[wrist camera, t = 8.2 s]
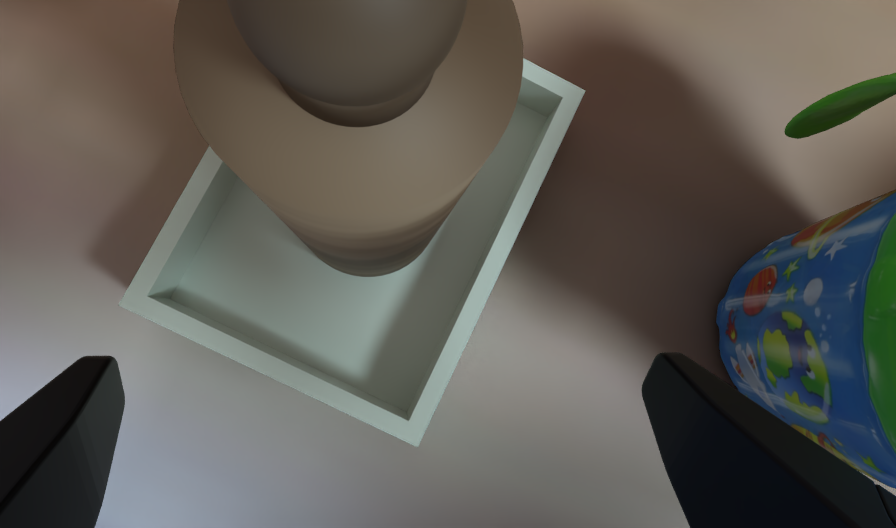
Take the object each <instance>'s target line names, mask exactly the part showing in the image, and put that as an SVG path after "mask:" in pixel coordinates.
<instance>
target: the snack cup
mask: <svg viewBox="0 0 896 528" xmlns="http://www.w3.org/2000/svg"><path fill="white" fill-rule="evenodd" d="M895 94H896V73H893V74H890V75H885V76H881V77H877V78H873V79H870V80H866V81H863V82H860V83H857V84H855V85H852V86H850V87H847V88H845V89H842V90H840V91H837V92H835V93H832V94H830V95H828V96H826V97H824V98H822V99H820V100H819V101H817V102H815V103H813V104H812V105H810V106H809V107H807V108H806V109H804V110H803V111H801V112H800V113H799V114H797V115H796V116H795V117H793V119H792V120H791V121H790V122H789V123H788V124H787V126H786V128H785V134H786V135H787V136H788V137H792V138H797V139H799V138H804V137H808V136H811V135H814V134H817V133H820V132H823V131H826V130H828V129H830V128H833V127H835V126H837V125H840V124H842V123H844V122H846V121H849V120H851V119H852V118H854V117H856V116H857V115H859V114H860V113H861V112H863V111H865V110H867V109H869V108H871V107H873V106H875V105H876V104H878V103H880V102H882V101H884V100H885V99H887V98H889V97H891V96H893V95H895ZM716 323H717V325H718V327H719V332H720V342H719V349H720V354H721V358H722V361H723V363H724V365H725V367H726V369H727V372H728V374H729V376H730V378H731V380H732V382H733V383H734V384H735V386H736V387H737V388H738V390H739V392H741V393H742V394H744V395H745V396H747V397H748V398H750V399H751V400H753V401H754V402H756V403H757V404H759V405H760V406H761V407H763V408H764V409H766V410H767V411H769V412H770V413H772V414H773V415H775V416H776V417H778V418H779V419H781V420H782V421H784V422H785V423H787V424H788V425H790V426H791V427H793V428H794V429H796V430H797V431H799V432H800V433H802V434H803V435H805V436H806V437H808V438H809V439H811V440H812V441H814V442H815V443H817V444H818V445H820V446H821V447H823V448H824V449H826V450H827V451H829V452H830V453H832V454H833V455H835V456H836V457H838V458H839V459H841V460H842V461H844V462H845V463H847V464H848V465H850V466H851V467H853V468H854V469H856V470H858V471H860V472H862V473H864V474H865V475H867V476H869V477H871V478H873V479H875V480H877V481H879V482H881V483H883V484H885V485H887V486H889V487H892V488H896V190H894V191H891V192H889V193H886V194H884V195H881V196H879V197H877V198H874V199H872V200H869V201H867V202H864V203H862V204H860V205H857V206H855V207H852V208H850V209H847V210H845V211H843V212H840V213H838V214H835V215H833V216H831V217H828V218H826V219H823V220H821V221H819V222H816V223H814V224H812V225H810V226H808V227H807V228H805V229H803V230H801V231H798V232H796V233H793V234H790V235H786V236H783V237H782V238H780V239H778V240H776V241H774V242H772V243H770V244H768V245H767V246H766V248H764V249H762V250H761V251H759V252H758V253H756V254H755V255H754V256H753V257H751V258H750V259H749V260H748V261H747V262H746V263H745V264H744V265H743V266H742V267H741V268H740V269H739V270H738V271H737V273H736V274H735V275H734V277H733V279H732V280H731V282H730V285H729V288H728V291H727V293H726V295H725V297H724V298H723V299H722V300H721V301H720V303H719V305H718V311H717V320H716Z"/></svg>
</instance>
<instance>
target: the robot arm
mask: <svg viewBox="0 0 896 528" xmlns="http://www.w3.org/2000/svg"><path fill="white" fill-rule="evenodd" d="M642 397H643V400H644V403H645V407H646V410H647V413H648V416H649V419H650V422H651V425H652V429H653V432H654V435H655V438H656V441H657V444H658V447H659V451H660V454H661V457H662V460H663V463H664V466H665V469H666V471H667V474H668V477H669V479H670V481H671V484H672V486H673V489H674V491H675V493H676V496H677V498H678V500H679V503H680V505H681V507H682V509H683V512H684V514H685V516H686V519H687V521H688V523H689V526H690V528H896V496H895V495H893V494H892V493H890V492H889V491H887V490H886V489H884V488H883V487H881V486H880V485H875V484H874V482H873V481H872V480H871V479H869V478H868V477H866V476H865V475H863V474H862V473H860V472H859V471H857V470H856V469H854V468H853V467H851V466H850V465H848V464H847V463H845V462H844V461H842V460H841V459H839V458H838V457H836V456H835V455H833V454H832V453H830V452H829V451H827V450H826V449H824V448H823V447H821V446H820V445H818V444H817V443H815V442H814V441H812V440H811V439H809V438H808V437H806V436H805V435H803V434H802V433H800V432H799V431H797V430H796V429H794V428H793V427H791V426H790V425H788V424H787V423H785V422H784V421H782V420H781V419H779V418H778V417H776V416H775V415H773V414H772V413H770V412H769V411H767V410H766V409H764V408H763V407H761V406H760V405H759V404H757V403H756V402H754V401H753V400H751V399H750V398H748V397H747V396H745V395H744V394H742V393H741V392H739V391H738V390H736V389H735V388H733V387H732V386H730V385H729V384H727V383H726V382H724V381H723V380H721V379H720V378H718V377H717V376H715V375H714V374H712V373H711V372H709V371H708V370H706V369H705V368H703V367H702V366H700V365H699V364H697V363H696V362H694V361H693V360H691V359H690V358H688V357H687V356H685V355H684V354H682V353H677V352H672V353H659V354H658V355H657V356H656V357H655V359H654V361H653V363H652V365H651V367H650V369H649V371H648V373H647V375H646V377H645V380H644V382H643V385H642ZM124 405H125V395H124V390H123V386H122V381H121V377H120V372H119V368H118V364H117V361H116V359H115V358H114V357H112V356H85V357H82V358H80V359H78V360H77V361H76V362H74V363H73V364H72V365H71V366H69V367H68V368H67V369H66V370H64V371H63V372H62V373H61V374H59V375H58V376H57V377H55V378H54V379H53V380H52V381H50V382H49V383H48V384H47V385H45V386H44V387H43V388H42V389H40V390H39V391H38V392H36V393H35V394H34V395H33V396H31V397H30V398H29V399H28V400H26V401H25V402H24V403H23V404H21V405H20V406H19V407H17V408H16V409H15V410H14V411H12V412H11V413H10V414H9V415H7V416H6V417H5V418H4V419H2V420H1V421H0V528H94V527H95V525H96V522H97V519H98V516H99V512H100V509H101V506H102V502H103V498H104V494H105V490H106V486H107V482H108V477H109V473H110V469H111V464H112V460H113V455H114V451H115V447H116V442H117V438H118V433H119V429H120V425H121V420H122V416H123V411H124Z"/></svg>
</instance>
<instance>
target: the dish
mask: <svg viewBox="0 0 896 528" xmlns="http://www.w3.org/2000/svg"><path fill="white" fill-rule="evenodd" d="M584 93H585V90H583V89H582V88H580V87H578V86H576V85H574V84H572V83H570V82H568V81H566V80H564V79H562V78H560V77H558V76H557V75H555V74H553V73H551V72H549V71H547V70H545V69H543V68H541V67H539V66H537V65H535V64H534V63H532V62H530V61H528V60H526V59H524V58H523V73H522V81H521V88H520V92H519V96H518V100H517V104H516V107H515V110H514V112H513V115H512V117H511V120H510V122H509V124H508V127H507V129H506V130H505V132H504V134H503V135H502V137H501V139H500V141H499V142H498V144H497V146H496V147H495V149H494V150H493V152H492V153H491V154H490V156H489V157H488V159H487V160H486V162H485V163H484V165H483V166H482V167H481V169H480V170H479V172H478V173H477V175H476V176H475V178H474V179H473V180H472V182H471V183H470V185H469V186H468V188H467V189H466V191H465V192H464V194H463V195H462V196H461V198H460V199H459V201H458V202H457V204H456V205H455V207H454V208H453V209H452V211H451V212H450V214H449V215H448V217H447V218H446V220H445V221H444V222H443V224H442V225H441V227H440V228H439V230H438V231H437V233H436V234H435V236H434V237H433V238H432V240H431V241H430V243H429V244H428V246H427V247H426V248H425V250H424V251H423V252H422V253H421V254H420V255H419V256H418V257H417V258H416V259H415V260H414V261H413V262H411V263H410V264H409V265H407V266H406V267H404V268H402V269H400V270H398V271H396V272H393V273H391V274H387V275H383V276H376V277H360V276H353V275H349V274H346V273H343V272H340V271H338V270H336V269H334V268H332V267H330V266H329V265H327V264H326V263H324V262H323V261H322V260H320V259H319V258H318V257H317V256H316V255H315V254H314V253H313V252H312V251H311V250H310V249H309V248H308V247H307V246H306V245H305V244H304V243H303V242H302V241H301V240H300V239H299V238H298V237H297V236H296V235H295V233H294V232H293V231H292V230H291V229H290V228H289V227H288V226H287V225H286V224H285V223H284V222H283V221H282V220H281V219H280V218H279V217H278V216H277V215H276V214H275V213H274V212H273V211H272V210H271V209H270V208H269V207H268V206H267V205H266V204H265V203H264V202H263V201H262V200H261V199H260V198H259V197H258V196H257V195H256V194H255V193H254V192H253V191H252V190H251V189H250V188H249V187H248V186H247V185H246V184H245V183H244V182H243V181H242V180H241V179H240V178H239V177H238V176H237V175H236V174H235V173H234V172H233V171H232V170H231V169H230V168H229V167H228V166H227V165H226V164H225V163H224V162H223V161H222V160H221V159H220V158H219V157H218V156H217V155H216V154H215V152H214V151H213V150H212V148H211V147H210V146H209V147H208V149H207V150H206V152H205V154H204V156H203V157H202V159H201V161H200V163H199V164H198V166H197V168H196V170H195V172H194V173H193V175H192V177H191V179H190V180H189V182H188V184H187V186H186V187H185V189H184V191H183V193H182V194H181V196H180V198H179V200H178V201H177V203H176V205H175V207H174V208H173V210H172V212H171V214H170V215H169V217H168V219H167V221H166V222H165V224H164V226H163V228H162V229H161V231H160V233H159V235H158V236H157V238H156V240H155V242H154V243H153V245H152V247H151V249H150V250H149V252H148V254H147V256H146V257H145V259H144V261H143V263H142V264H141V266H140V268H139V270H138V272H137V273H136V275H135V277H134V279H133V280H132V282H131V284H130V286H129V287H128V289H127V291H126V293H125V294H124V296H123V298H122V300H121V301H120V303H119V306H121V307H123V308H125V309H127V310H129V311H131V312H133V313H135V314H138V315H140V316H142V317H144V318H146V319H148V320H150V321H152V322H154V323H157V324H159V325H161V326H163V327H165V328H167V329H169V330H171V331H173V332H175V333H178V334H180V335H182V336H184V337H186V338H188V339H190V340H192V341H194V342H197V343H199V344H201V345H203V346H205V347H207V348H209V349H211V350H213V351H216V352H218V353H220V354H222V355H224V356H226V357H228V358H230V359H232V360H234V361H237V362H239V363H241V364H243V365H245V366H247V367H249V368H251V369H253V370H256V371H258V372H260V373H262V374H264V375H266V376H268V377H270V378H272V379H274V380H277V381H279V382H281V383H283V384H285V385H287V386H289V387H291V388H293V389H296V390H298V391H300V392H302V393H304V394H306V395H308V396H310V397H312V398H314V399H317V400H319V401H321V402H323V403H325V404H327V405H329V406H331V407H333V408H336V409H338V410H340V411H342V412H344V413H346V414H348V415H350V416H352V417H355V418H357V419H359V420H361V421H363V422H365V423H367V424H369V425H371V426H373V427H376V428H378V429H380V430H382V431H384V432H386V433H388V434H390V435H392V436H395V437H397V438H399V439H401V440H403V441H405V442H407V443H409V444H411V445H413V446H416V447H418V446H419V444H420V442H421V439H422V437H423V435H424V433H425V431H426V429H427V427H428V425H429V422H430V420H431V418H432V416H433V414H434V412H435V410H436V408H437V405H438V403H439V401H440V399H441V397H442V395H443V393H444V391H445V388H446V386H447V384H448V382H449V380H450V378H451V376H452V374H453V371H454V369H455V367H456V365H457V363H458V361H459V359H460V357H461V354H462V352H463V350H464V348H465V346H466V344H467V342H468V340H469V337H470V335H471V333H472V331H473V329H474V327H475V325H476V323H477V320H478V318H479V316H480V314H481V312H482V310H483V308H484V306H485V303H486V301H487V299H488V297H489V295H490V293H491V291H492V289H493V286H494V284H495V282H496V280H497V278H498V276H499V274H500V272H501V269H502V267H503V265H504V263H505V261H506V259H507V257H508V255H509V252H510V250H511V248H512V246H513V244H514V242H515V240H516V238H517V235H518V233H519V231H520V229H521V227H522V225H523V223H524V221H525V218H526V216H527V214H528V212H529V210H530V208H531V206H532V204H533V201H534V199H535V197H536V195H537V193H538V191H539V189H540V187H541V184H542V182H543V180H544V178H545V176H546V174H547V172H548V170H549V167H550V165H551V163H552V161H553V159H554V157H555V155H556V153H557V150H558V148H559V146H560V144H561V142H562V140H563V138H564V136H565V133H566V131H567V129H568V127H569V125H570V123H571V121H572V119H573V116H574V114H575V112H576V110H577V108H578V106H579V104H580V102H581V99H582V97H583V95H584Z"/></svg>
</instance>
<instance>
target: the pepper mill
mask: <svg viewBox="0 0 896 528" xmlns="http://www.w3.org/2000/svg"><path fill="white" fill-rule="evenodd" d="M173 49H174V59H175V69H176V74H177V78H178V82H179V86H180V91H181V94H182V96H183V99H184V101H185V104H186V107H187V109H188V112H189V114H190V116H191V118H192V119H193V121H194V123H195V125H196V127H197V128H198V130H199V132H200V134H201V135H202V137H203V138H204V139H205V140H206V142H207V143H208V144H209V146H210V147H211V148H212V150H213V151H214V152H215V154H216V155H217V156H218V157H219V158H220V159H221V160H222V161H223V162H224V163H225V164H226V165H227V166H228V167H229V168H230V169H231V170H232V171H233V172H234V173H235V174H236V175H237V176H238V177H239V178H240V179H241V180H242V181H243V182H244V183H245V184H246V185H247V186H248V187H249V188H250V189H251V190H252V191H253V192H254V193H255V194H256V195H257V196H258V197H259V198H260V199H261V200H262V201H263V202H264V203H265V204H266V205H267V206H268V207H269V208H270V209H271V210H272V211H273V212H274V213H275V214H276V215H277V216H278V217H279V218H280V219H281V220H282V221H283V222H284V223H285V224H286V225H287V226H288V227H289V228H290V229H291V230H292V231H293V232H294V233H295V235H296V236H297V237H298V238H299V239H300V240H301V241H302V242H303V243H304V244H305V245H306V246H307V247H308V248H309V249H310V250H311V251H312V252H313V253H314V254H315V255H316V256H317V257H318V258H319V259H320V260H322V261H323V262H324V263H326V264H327V265H329V266H330V267H332V268H334V269H336V270H338V271H340V272H343V273H346V274H349V275H353V276H360V277H376V276H383V275H387V274H391V273H393V272H396V271H398V270H400V269H402V268H404V267H406V266H407V265H409V264H410V263H411V262H413V261H414V260H415V259H416V258H417V257H418V256H419V255H420V254H421V253H422V252H423V251H424V250H425V248H426V247H427V246H428V244H429V243H430V241H431V240H432V238H433V237H434V236H435V234H436V233H437V231H438V230H439V228H440V227H441V225H442V224H443V222H444V221H445V220H446V218H447V217H448V215H449V214H450V212H451V211H452V209H453V208H454V207H455V205H456V204H457V202H458V201H459V199H460V198H461V196H462V195H463V194H464V192H465V191H466V189H467V188H468V186H469V185H470V183H471V182H472V180H473V179H474V178H475V176H476V175H477V173H478V172H479V170H480V169H481V167H482V166H483V165H484V163H485V162H486V160H487V159H488V157H489V156H490V154H491V153H492V152H493V150H494V149H495V147H496V146H497V144H498V142H499V141H500V139H501V137H502V135H503V134H504V132H505V130H506V129H507V127H508V124H509V122H510V120H511V117H512V115H513V112H514V110H515V107H516V104H517V100H518V96H519V92H520V88H521V81H522V73H523V42H522V36H521V29H520V23H519V20H518V16H517V13H516V9H515V6H514V3H513V1H512V0H180V1H179V4H178V10H177V15H176V20H175V25H174V46H173Z"/></svg>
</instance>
